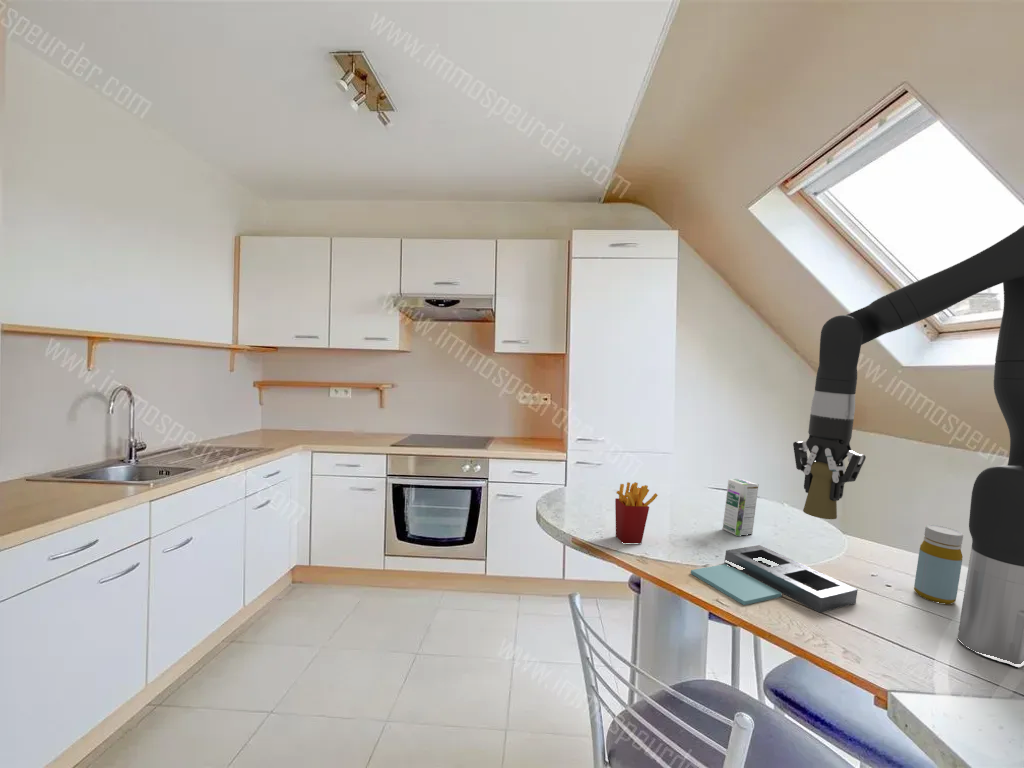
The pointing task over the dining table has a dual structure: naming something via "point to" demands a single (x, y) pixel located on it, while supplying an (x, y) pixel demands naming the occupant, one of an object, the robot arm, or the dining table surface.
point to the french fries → (631, 513)
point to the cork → (821, 493)
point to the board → (736, 584)
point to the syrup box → (740, 507)
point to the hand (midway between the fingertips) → (821, 496)
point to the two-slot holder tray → (793, 579)
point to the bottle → (939, 564)
